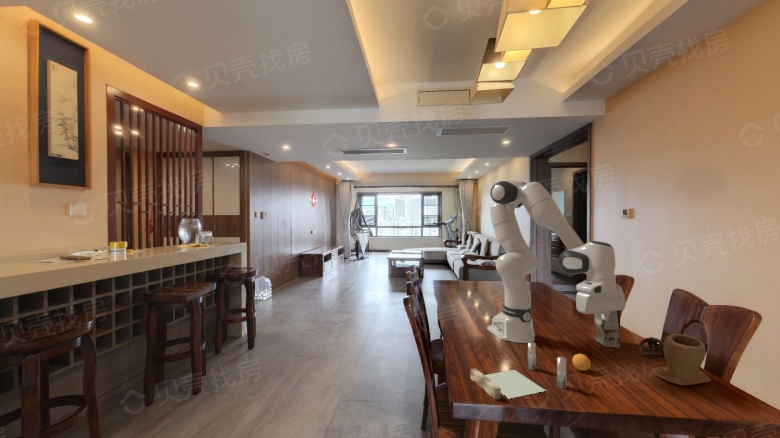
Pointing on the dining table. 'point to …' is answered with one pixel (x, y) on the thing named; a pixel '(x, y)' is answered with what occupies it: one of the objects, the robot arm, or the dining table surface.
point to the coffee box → (609, 330)
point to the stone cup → (683, 360)
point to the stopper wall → (485, 383)
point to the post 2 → (561, 372)
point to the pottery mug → (652, 346)
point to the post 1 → (531, 355)
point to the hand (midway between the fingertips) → (601, 323)
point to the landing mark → (514, 384)
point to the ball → (581, 362)
